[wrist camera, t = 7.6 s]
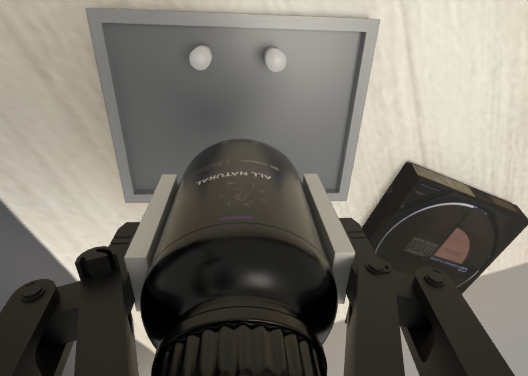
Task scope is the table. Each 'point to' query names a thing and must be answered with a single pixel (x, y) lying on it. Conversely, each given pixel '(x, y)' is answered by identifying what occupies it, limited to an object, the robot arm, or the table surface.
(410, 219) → the portable cd player
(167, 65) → the pin tray
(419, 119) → the table surface
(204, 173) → the supplement bottle
